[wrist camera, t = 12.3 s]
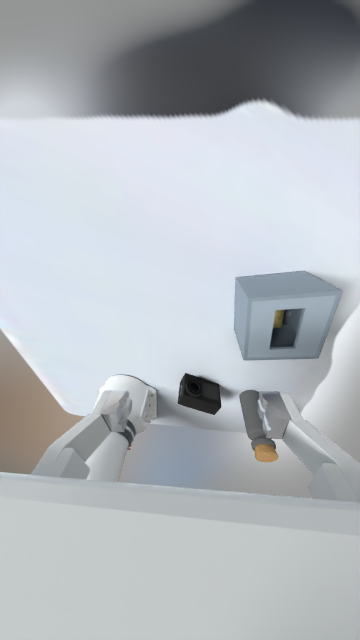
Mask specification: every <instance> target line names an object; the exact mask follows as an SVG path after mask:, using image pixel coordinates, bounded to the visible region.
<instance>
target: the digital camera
mask: <svg viewBox="0 0 360 640" xmlns="http://www.w3.org/2000/svg"><path fill="white" fill-rule="evenodd" d="M178 404H180V405H183V406H186V407H190V408H193V409H196V410H199V411H203V412H206V413H209V414H213V415H215V414H216V413H217V411H218V410H219V409H220V408H221V399H220V390H219V384H217V383H214V382H211V381H208V380H205V379H202V378H199V377H196V376H192V375H189V374H186V373H185V375H184V376H183V378H182V380H181V382H180V388H179V397H178Z"/></svg>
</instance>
